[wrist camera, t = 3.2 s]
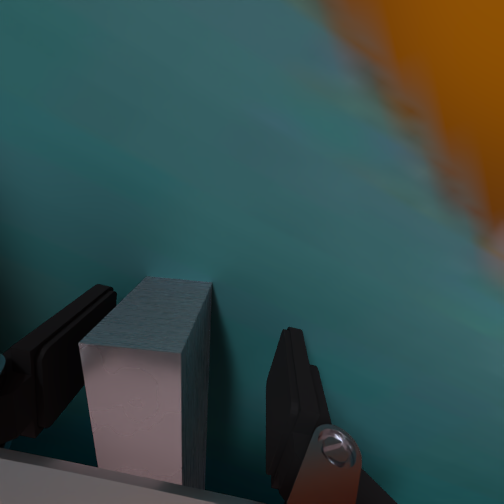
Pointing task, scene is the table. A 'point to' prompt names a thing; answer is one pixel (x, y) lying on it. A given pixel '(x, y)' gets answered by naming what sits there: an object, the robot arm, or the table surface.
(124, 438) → the l-shaped block
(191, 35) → the table surface
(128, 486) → the robot arm
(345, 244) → the table surface
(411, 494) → the table surface
